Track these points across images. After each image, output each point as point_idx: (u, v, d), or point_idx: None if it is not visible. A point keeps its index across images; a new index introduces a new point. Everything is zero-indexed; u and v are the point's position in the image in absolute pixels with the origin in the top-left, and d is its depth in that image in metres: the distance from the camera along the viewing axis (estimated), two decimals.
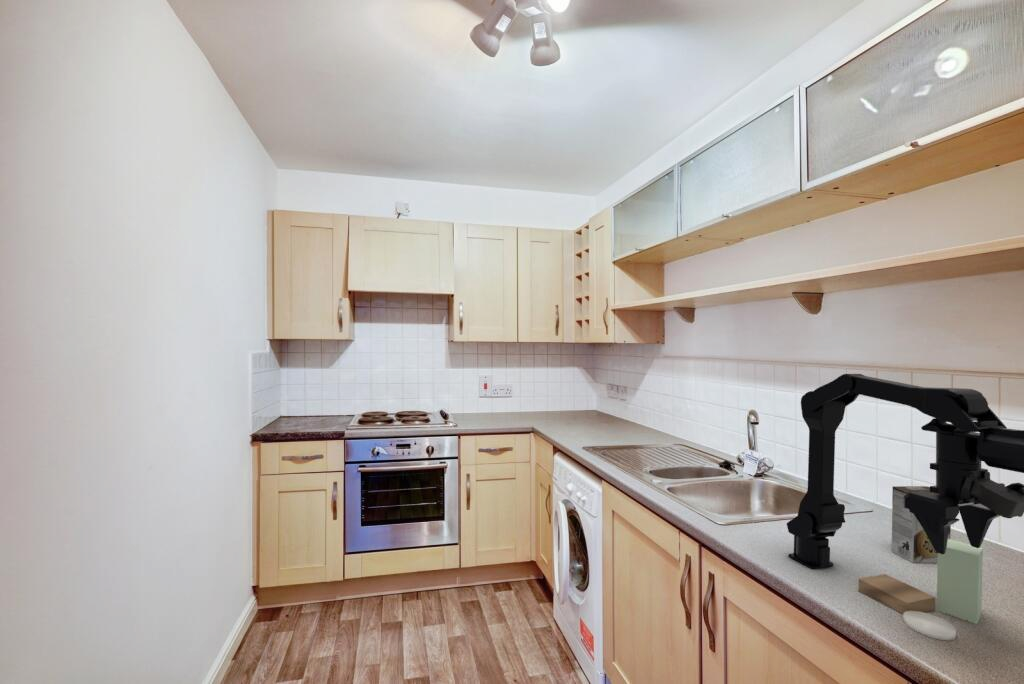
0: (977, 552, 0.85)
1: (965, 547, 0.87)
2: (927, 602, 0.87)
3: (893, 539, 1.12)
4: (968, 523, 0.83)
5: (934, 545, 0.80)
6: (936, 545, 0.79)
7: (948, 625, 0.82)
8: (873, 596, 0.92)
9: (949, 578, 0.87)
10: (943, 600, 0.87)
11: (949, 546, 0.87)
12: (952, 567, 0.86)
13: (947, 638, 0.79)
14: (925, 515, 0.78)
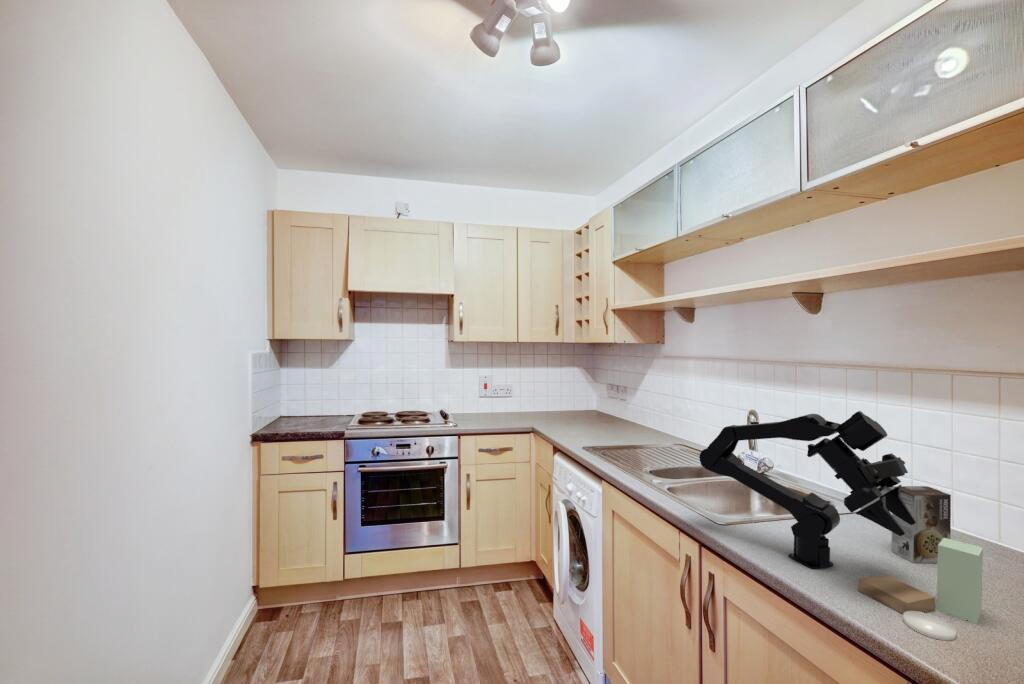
0: (977, 552, 0.85)
1: (965, 547, 0.87)
2: (927, 602, 0.87)
3: (893, 539, 1.12)
4: (893, 509, 0.99)
5: (894, 531, 0.91)
6: (894, 529, 0.91)
7: (948, 625, 0.82)
8: (873, 596, 0.92)
9: (949, 578, 0.87)
10: (943, 600, 0.87)
11: (950, 546, 0.87)
12: (952, 567, 0.86)
13: (947, 638, 0.79)
14: (867, 507, 0.92)
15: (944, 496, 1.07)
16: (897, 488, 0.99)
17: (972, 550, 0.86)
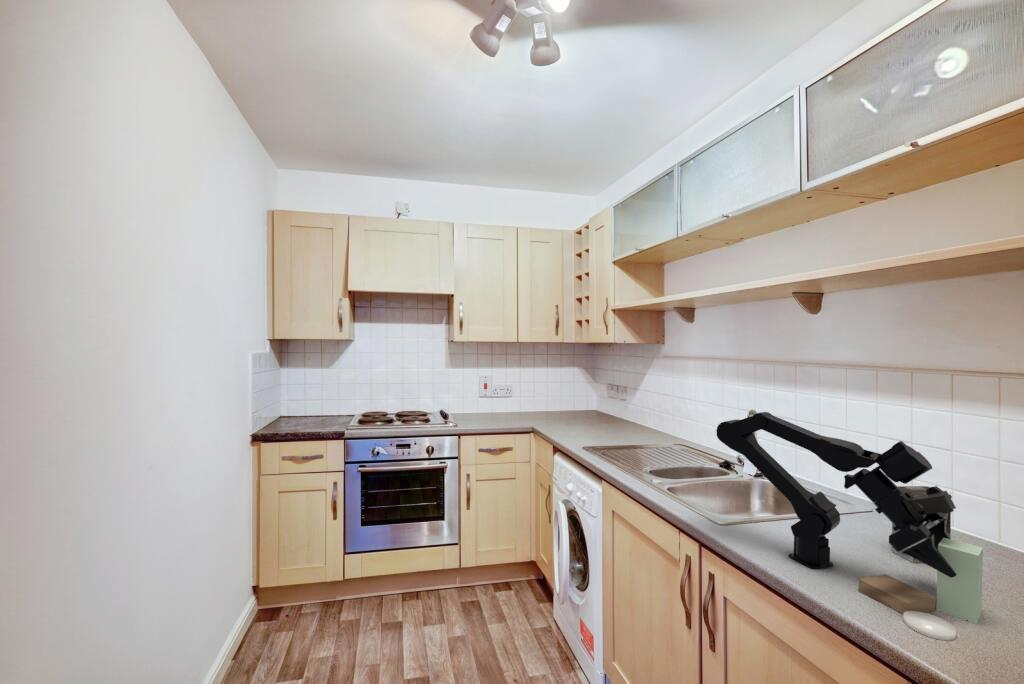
0: (977, 552, 0.85)
1: (965, 547, 0.87)
2: (927, 602, 0.87)
3: None
4: None
5: (944, 572, 0.86)
6: (945, 570, 0.85)
7: (948, 625, 0.82)
8: (873, 596, 0.92)
9: (949, 578, 0.87)
10: (943, 600, 0.87)
11: (949, 546, 0.87)
12: (952, 567, 0.87)
13: (947, 638, 0.79)
14: (915, 546, 0.87)
15: None
16: (943, 523, 0.93)
17: (972, 550, 0.86)
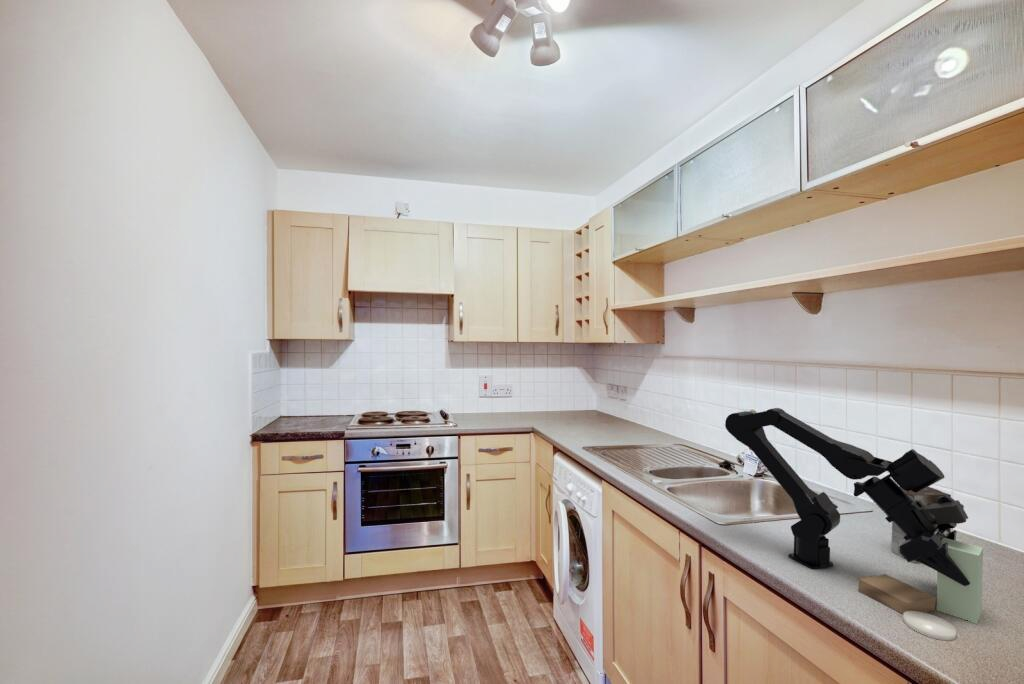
0: (977, 552, 0.85)
1: (965, 547, 0.87)
2: (927, 602, 0.87)
3: (893, 539, 1.12)
4: None
5: (957, 580, 0.85)
6: (958, 579, 0.85)
7: (948, 625, 0.82)
8: (873, 596, 0.92)
9: (949, 578, 0.87)
10: (943, 600, 0.87)
11: (950, 546, 0.87)
12: None
13: (947, 638, 0.79)
14: (928, 555, 0.86)
15: None
16: (953, 535, 0.91)
17: (972, 550, 0.86)
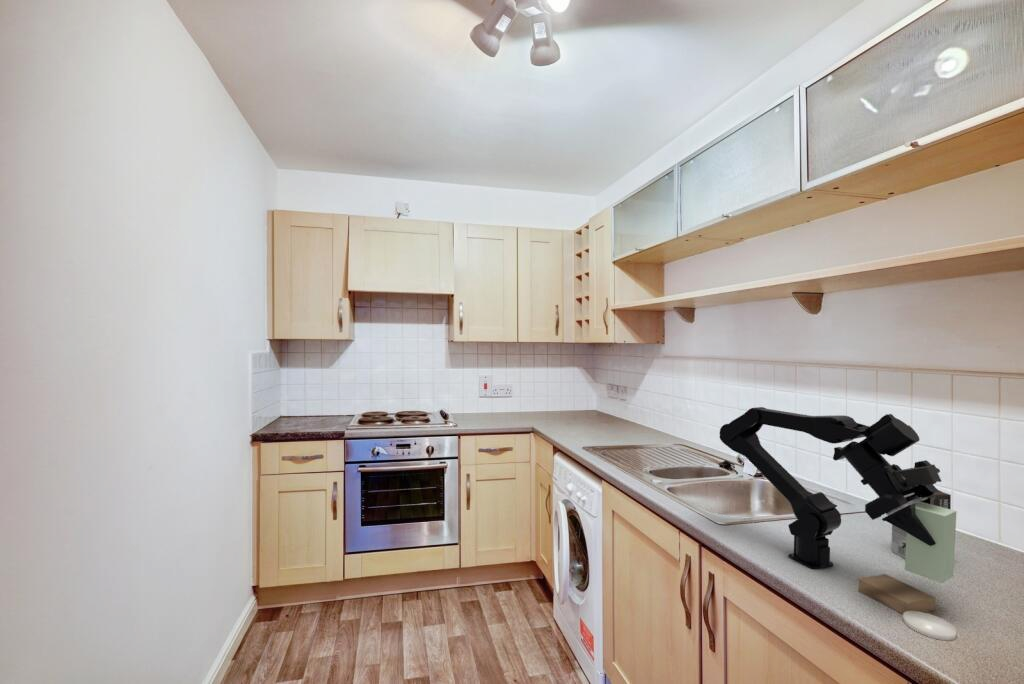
0: (946, 513, 0.86)
1: (936, 509, 0.88)
2: (927, 602, 0.87)
3: (893, 539, 1.12)
4: None
5: (923, 540, 0.87)
6: (924, 539, 0.86)
7: (948, 625, 0.82)
8: (873, 596, 0.92)
9: None
10: (911, 560, 0.89)
11: (919, 508, 0.88)
12: None
13: (947, 638, 0.79)
14: (894, 514, 0.88)
15: (944, 496, 1.07)
16: (929, 499, 0.91)
17: (942, 512, 0.87)
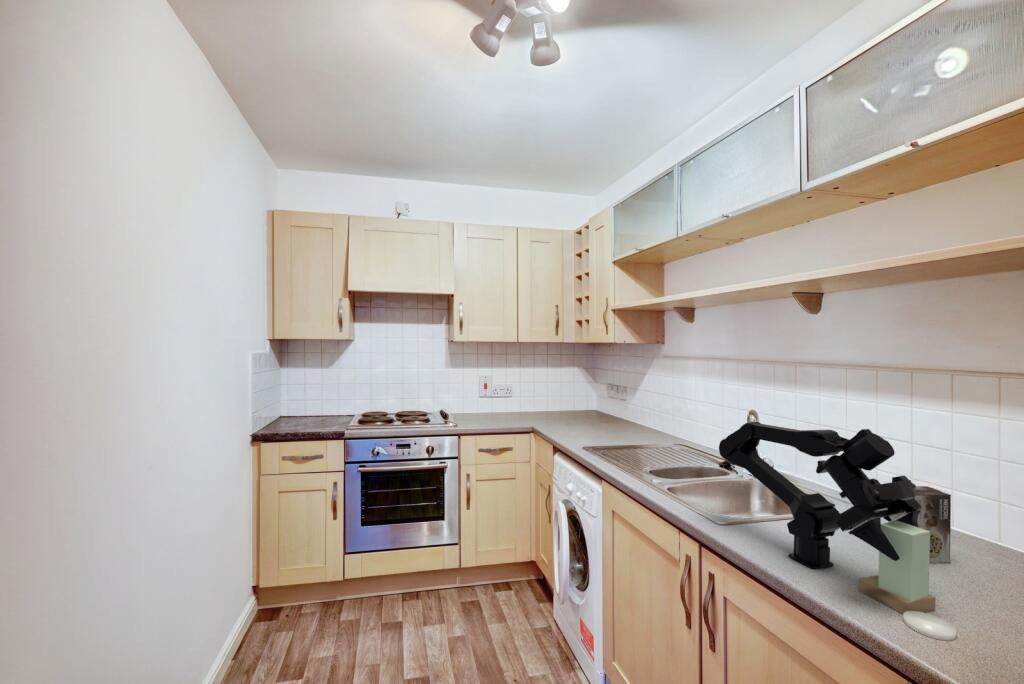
0: (915, 533, 0.87)
1: (908, 528, 0.89)
2: (927, 602, 0.87)
3: None
4: None
5: (888, 555, 0.88)
6: (889, 554, 0.87)
7: (948, 625, 0.82)
8: (873, 596, 0.92)
9: None
10: (883, 578, 0.90)
11: (891, 526, 0.90)
12: None
13: (947, 638, 0.79)
14: (858, 527, 0.90)
15: (944, 496, 1.07)
16: (911, 513, 0.93)
17: (912, 531, 0.88)
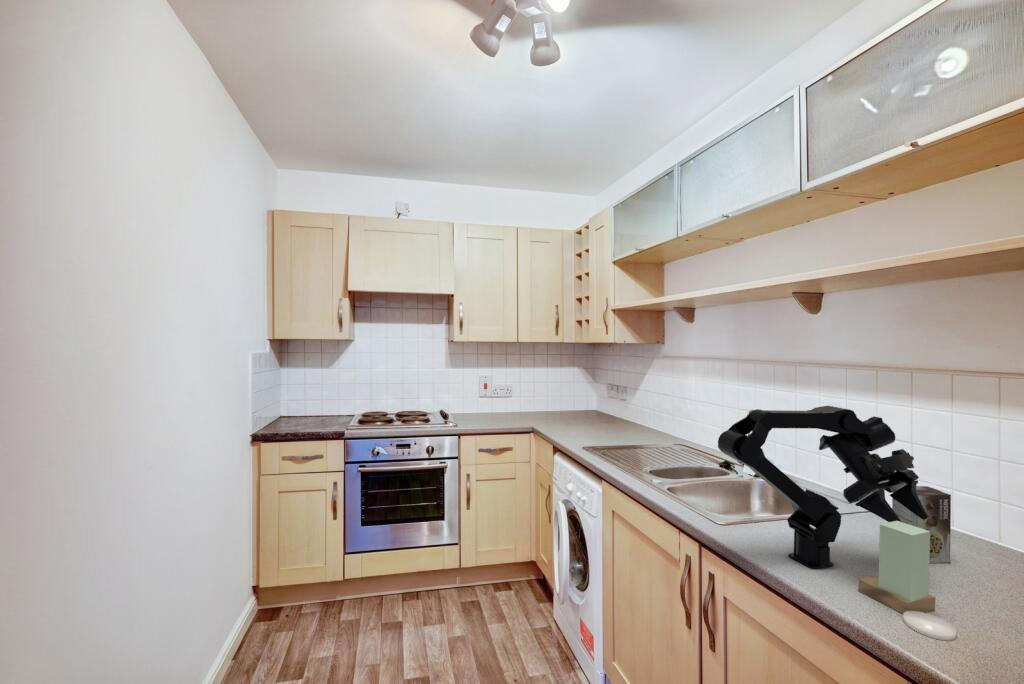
0: (915, 533, 0.87)
1: (908, 528, 0.89)
2: (927, 602, 0.87)
3: None
4: (907, 504, 1.01)
5: None
6: None
7: (948, 625, 0.82)
8: (873, 596, 0.92)
9: (888, 556, 0.90)
10: (883, 578, 0.90)
11: (891, 526, 0.90)
12: (891, 546, 0.89)
13: (947, 638, 0.79)
14: (864, 499, 0.97)
15: (944, 496, 1.07)
16: (910, 483, 1.01)
17: (912, 531, 0.88)
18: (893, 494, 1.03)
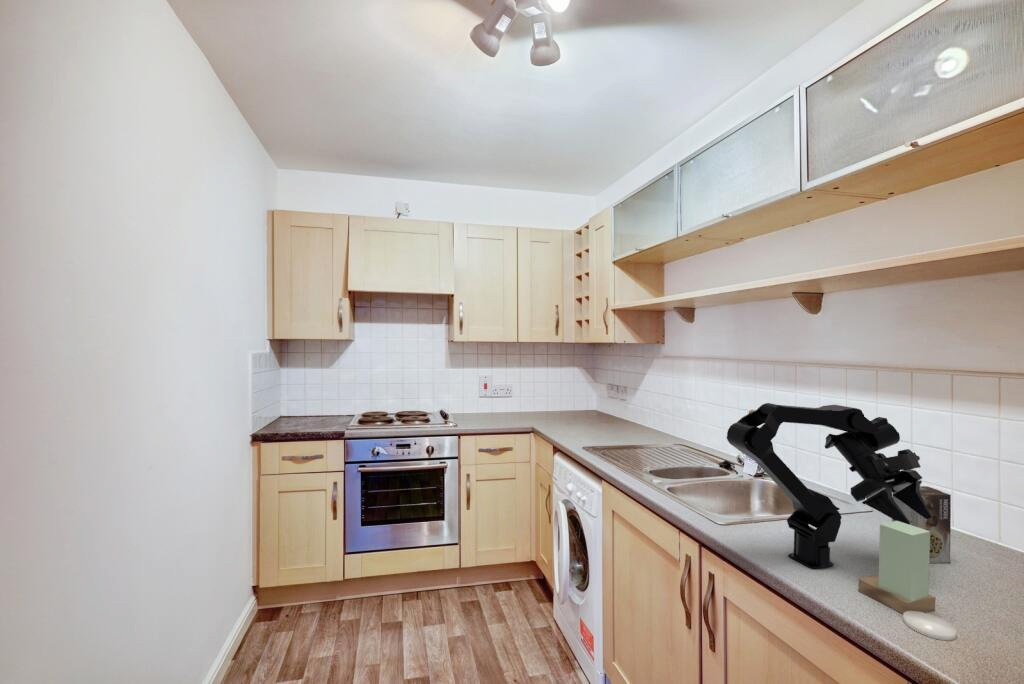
0: (915, 533, 0.87)
1: (908, 528, 0.89)
2: (927, 602, 0.87)
3: None
4: (910, 503, 1.02)
5: None
6: (900, 520, 0.95)
7: (948, 625, 0.82)
8: (873, 596, 0.92)
9: (888, 556, 0.90)
10: (883, 578, 0.90)
11: (891, 526, 0.90)
12: (891, 546, 0.89)
13: (947, 638, 0.79)
14: (872, 497, 0.97)
15: (944, 496, 1.07)
16: (915, 483, 1.02)
17: (912, 531, 0.88)
18: (897, 494, 1.04)
